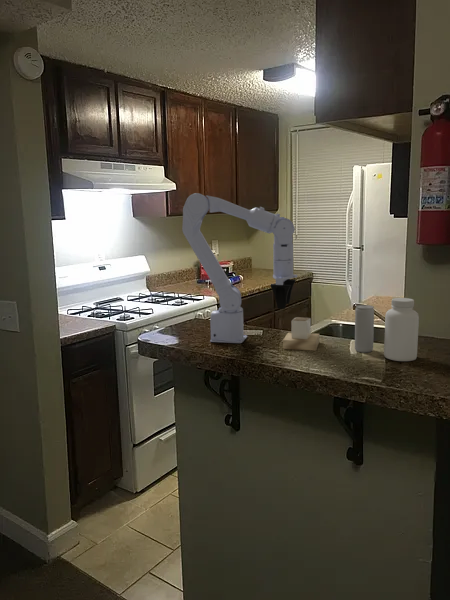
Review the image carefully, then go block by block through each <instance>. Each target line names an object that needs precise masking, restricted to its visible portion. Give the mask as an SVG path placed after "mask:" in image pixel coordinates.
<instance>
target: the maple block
mask: <svg viewBox="0 0 450 600" xmlns="http://www.w3.org/2000/svg"><path fill="white" fill-rule="evenodd" d="M319 343H320V333H311V336H310V337H309V338H308V339H295V338H292V334H291V332H287V334H285V337H284V338H283V339H282V349H284V350H297V351H299V350H301V351H317V349H318V347H319Z"/></svg>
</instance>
